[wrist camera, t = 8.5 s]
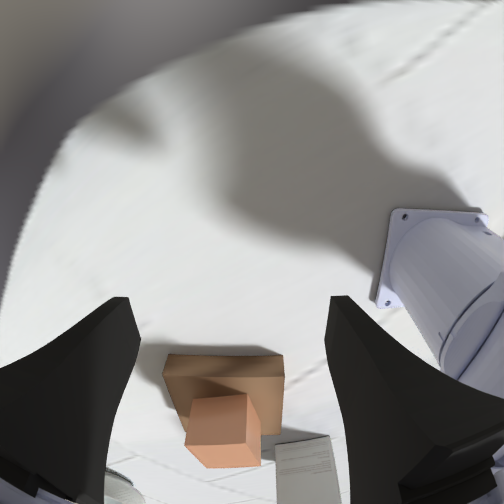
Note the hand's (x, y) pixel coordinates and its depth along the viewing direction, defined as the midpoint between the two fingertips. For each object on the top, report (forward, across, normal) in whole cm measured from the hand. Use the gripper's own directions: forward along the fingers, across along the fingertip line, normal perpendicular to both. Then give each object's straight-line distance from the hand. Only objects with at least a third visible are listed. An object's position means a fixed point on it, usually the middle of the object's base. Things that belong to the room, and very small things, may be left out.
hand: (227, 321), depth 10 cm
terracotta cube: (+8, +2, +17) cm, 19 cm away
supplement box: (+10, -7, +32) cm, 34 cm away
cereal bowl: (+10, +31, +56) cm, 65 cm away
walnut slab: (+10, +2, +17) cm, 20 cm away
